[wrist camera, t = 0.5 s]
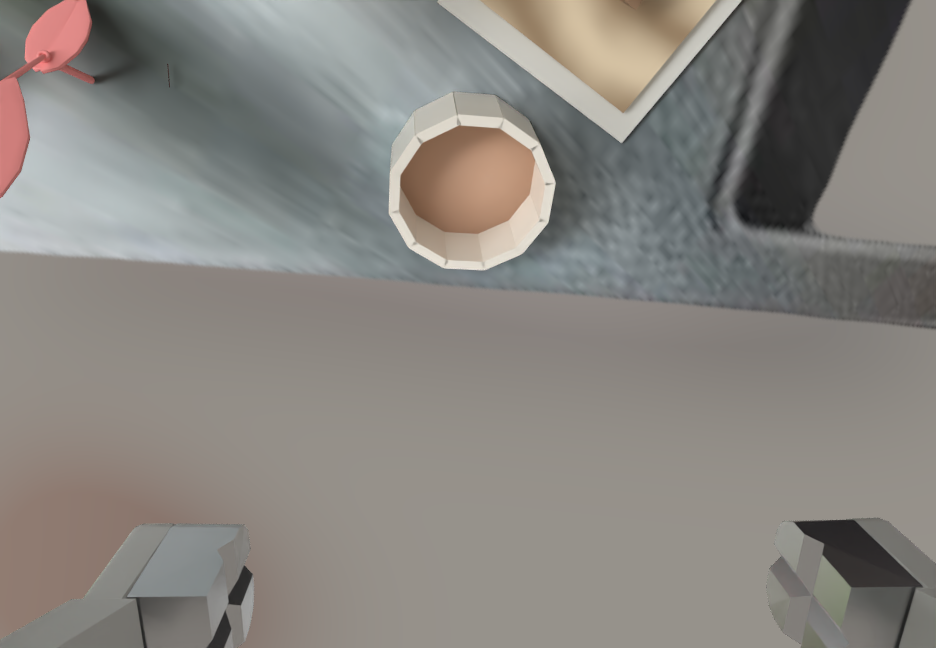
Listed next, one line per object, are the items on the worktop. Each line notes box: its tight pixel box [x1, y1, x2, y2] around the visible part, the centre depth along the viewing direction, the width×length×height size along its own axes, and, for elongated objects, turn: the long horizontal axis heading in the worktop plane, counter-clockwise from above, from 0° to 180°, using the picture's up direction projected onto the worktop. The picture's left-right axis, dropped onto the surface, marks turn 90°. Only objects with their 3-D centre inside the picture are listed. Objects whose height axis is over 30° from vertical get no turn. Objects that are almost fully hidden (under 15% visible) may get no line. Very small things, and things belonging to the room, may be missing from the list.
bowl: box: [389, 92, 556, 270], centre depth 54 cm, size 13×13×6 cm
